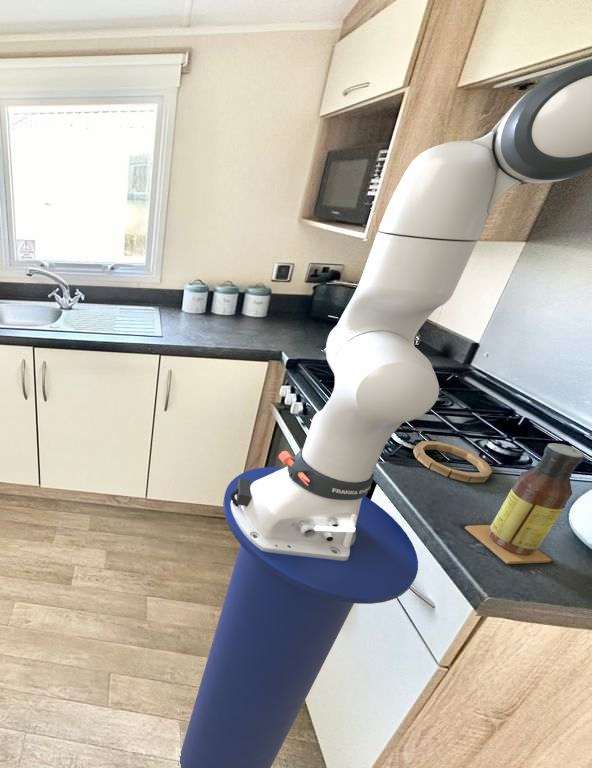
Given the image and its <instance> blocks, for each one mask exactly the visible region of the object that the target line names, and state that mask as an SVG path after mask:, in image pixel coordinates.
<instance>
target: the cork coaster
mask: <svg viewBox="0 0 592 768" xmlns="http://www.w3.org/2000/svg"><path fill="white" fill-rule="evenodd" d="M490 526H491V524H485V525H484V524H483V525H482V524H481V525H479V524H478V525H465V526H464V529H465V531H467V532H468V533H470V534H471V535H472V536H473V537H474V538H476V539H477V540H478V541H479V542H480V543H481V544H483V545H484V546H485V547H486V548H487V549H489V550H490V551H491V552H492V553H494V554H495V556H496V557H498V558H499V559H501V561H503V562H504V563H505V564H506V565H516V564H517V565H518V564H540V563H542V564H543V563H551V562H552V559H551V558H550V557H549V556H547V554H545V553H543V552H542V551H541V550H539V548H537V549H536V551H535V552H534V553H533V554H531V555H520V554H516V553H513V552H511V551H508V550H506V549H504V548H503V547H501V546H500V545H498V544H497V543H495V542H494V541H493V540H492V539H491V538H490V535H489V529H490Z"/></svg>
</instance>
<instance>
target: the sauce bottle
mask: <svg viewBox="0 0 592 768" xmlns="http://www.w3.org/2000/svg"><path fill="white" fill-rule="evenodd" d="M584 458H585V454H584V452H582V451H581V450H579V449H576V448H574V447H572V446H570V445H566V444H563V443H557V442H555V443H553V442H552V443H551V442H550V443H548V444H546V446H545V448H544V450H543V455H542V456H541V458H540V460H539V462H538V463H537V464H536V465H535V466H534V467H532V468H530V469H527V470H525V471H522V472H521V473H520V474H519V475H518V478H517V480H516V481H515V483H514V485H513V486H512V487H511V489H510V491H509V493H508V494H507V495H506V498H505V500H504V501H503V503H502V505H501V507H500V508H499V511H498V512H497V514H496V515H495V517H494V519H493V520H492V523H490V525H491V526H490V529H489V535H490V538H491V539H492V540H493V541H494V542H495V543H497V544H498V545H500V546H501V547H503V548H504V549H506V550H508V551H511V552H513V553H516V554H520V555H531V554H533V553H534V552H535V551H536V549H539V548H540V547H541V546H542V543H543V542H544V541H545V539H546V537H547V536H548V534H549V533H550V531H551V529H552V528H553V526H554V525H555V523H556V522H557V520H558V519H559V517H560V516H561V514H562V512H563V511H564V510H565V507H566V504H567V502H568V501H569V500H570V498H571V496H572V495H573V490H572V483H571V478H572V475H573V473H574V471H575V470H576V468H577V467H578V465H579V464H581V463H582V462H583V461H584Z"/></svg>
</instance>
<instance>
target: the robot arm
mask: <svg viewBox="0 0 592 768" xmlns="http://www.w3.org/2000/svg"><path fill="white" fill-rule="evenodd" d="M589 173H592V58H589V59H586V60H582V61H579V62H576V63H573V64H571V65H568V66H567V67H563V68H562V69H560V70H558V71H555V72H554V73H553V74H551V75H549V76H548V77H545V79H543V80H542V81H541V82H538V84H536V85H534V87H533V88H531V89H530V90H529V91H527V92H526V93H524V94H523V95H522V96H521V97H520V98H519V99H518V100H517V101H516V102H515V103H514V104H513V105H512V106H511V107H510V108H509V109H508V111H507V112H506V113H505V114H504V115H503V116H502V117H501V118H500V120H499V121H498V122H497V123H496V124H495V125H494V126H493V127H492V128H491V129H490V130H489V131H488V132H487V133H486V134H484V135H483V136H481V137H479V138H475V139H470V140H453V141H448V142H444V143H441V144H437V145H435V146H433V147H430V148H428V149H426V150H424V151H423V152H421V153H419V154H418V155H417V156H416V157H415V158H414V159H413V160H412V161H411V163H409V165H408V166H407V169H406V170H405V172H404V174H403V176H402V177H401V179H400V181H399V183H398V185H397V187H396V189H395V191H394V192H393V194H392V197H391V198H390V200H389V202H388V205H387V207H386V210H385V212H384V214H383V216H382V219H381V222H380V224H379V227H378V229H377V232H376V235H375V238H374V241H373V243H372V247H371V250H370V252H369V254H368V257H367V261H366V263H365V267H364V268H363V272H362V274H361V278H360V280H359V282H358V284H357V287H356V289H355V291H354V293H353V295H352V297H351V299H350V300H349V302H348V304H347V305H346V307H345V309H344V311H343V313H342V314H341V317H340V318H339V320H338V322H337V324H336V325H335V326H334V327H333V328H332V329H331V331H330V332H329V334H328V336H327V339H326V345H325V358H326V361H327V363H328V366H329V368H330V369H331V371H332V374H333V376H334V384H333V385H334V386H333V390H332V393H331V395H330V397H329V398H328V399H327V402H326V403H325V405H324V406H323V408H321V410H319V411H317V412H316V413H314V415H313V418H312V420H311V424H310V427H309V428H308V433H307V435H306V438H305V442H304V445H303V447H301V449H299V451H298V452H297V453H296V454H295V455H294V456H291V454H290V453H289V451H287V450H283V451H281V452H280V453H279V454H278V459H279V460H280V461H281V462H282V464H283V465H284V466H285V468H283V469H281V470H278V471H276V472H274V473H272V474H270V475H268V476H265V477H263V478H261V479H259V480H256V481H254V482H253V483H252V484H251V486H250V480H247V479H243V478H239V480H238V484H237V489H235V490H234V491H233V492H232V493H231V511H232V514H233V516H234V519H235V521H236V523H237V524H238V526H239V528H240V529H241V531H242V532H243V534H244V535H245V536H246V537H247V539H248V540H249V541H250V542H251V543H252V544H254V545H255V546H256V547H257V548H259V549H260V550H262V551H264V552H270V553H278V554H287V555H295V556H304V557H312V558H321V559H330V560H338V561H347V560H348V559H349V555H350V547H351V546H352V545H353V543H354V542H355V539H356V523H357V519H358V514H359V510H360V505H361V501H362V498H363V497H364V496H366V497H367V495H368V493H369V490H371V488H372V486H371V485H372V483H373V481H374V478H375V475H374V471H375V469H376V467H377V464H378V462H379V460H380V457H381V455H382V453H383V451H384V449H385V447H386V445H387V443H388V442H389V440H390V438H391V437H392V436H393V435H394V434H395V432H396V431H397V430H398V429H399V427H401V426H402V424H403V423H404V424H405V423H409V422H411V421H414V420H416V419H418V418H421V417H422V416H424V415H425V414H426V413H428V412H429V411H430V410H431V409H432V408H433V406H434V405H436V402H437V400H438V398H439V394H440V385H439V381H438V378H437V375H436V372H435V370H434V367H433V365H432V363H431V361H430V360H429V358H428V357H427V356H426V355H425V354H424V353H422V352H421V351H420V350H419V349H418V348H417V347H416V346H415V345H414V344H415V343H414V342H415V338H416V336H417V334H418V332H419V330H420V329H421V328H422V326H423V325H424V324H425V322H426V321H427V320H428V319H429V318H430V316H431V315H432V314H433V313H434V312H435V311H436V310H437V309H438V308H440V307H442V306H443V305H445V304H446V303H448V301H450V300H451V298H452V297H453V296H454V293H455V291H456V289H457V286H458V284H459V283H460V281H461V278H462V276H463V273H464V271H465V270H466V267H467V265H468V263H469V261H470V258H471V256H472V253H473V251H474V250H475V248H476V245H477V243H478V240H479V238H480V236H481V234H482V232H483V229H484V227H485V225H486V223H487V220H488V218H489V216H490V214H491V213H492V212H493V210H494V208H495V207H496V205H497V203H498V202H500V200H502V198H503V197H504V196H505V195H506V194H507V193H508V192H509V191H511V190H512V189H514V188H516V187H517V186H520V185H521V186H522V185H526V184H550V183H555V182H560V181H565V180H569V179H572V178H575V177H580V176H583V175H586V174H589ZM236 494H237V495H236Z"/></svg>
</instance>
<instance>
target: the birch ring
mask: <svg viewBox="0 0 592 768" xmlns="http://www.w3.org/2000/svg"><path fill="white" fill-rule="evenodd" d="M425 450H427V451H429V450H430V451H431V450H437V451H441V452H445V453H449V454H452V455H454V456H457V457H459V458H462V459H464V460H465V461H467V462H469V463H470V464H472V465H473V466H474V467H476V468H477V470H478V472H466V471H462V470H458V469H454V468H451V467H449V466H446V465H444V464H442V463H439V462H437V461H436V460H434V459H433V458H431V457H430V456H429V455H427V454H426V453H425ZM412 451H413V452H412V453H413V455H414V457H415V459H416V460H417V461H418V462H420V463H421V464H423V465H424V467H426V468H427V469H430V470H431V471H433V472H435V473H438V474H440V475H442V476H444V477H446V478H448V477H449V479H453V480H457V481H461V482H466V483H471V484H472V483H484V482H486V481H487V480H488V479H489V478H490V476H491V475H492V473H493V469H492V468H491V466H490V464H489V463H488V462H487V461H486V460H485V459H483V458H482V457H480V456H479V455H477V454H475V453H473V452H471V451H470V450H467V449H465V448H462V447H460V446H458V445H453V444H451V443H446V442H442V441H438V440H436V441H435V440H421V441H420V442H418V443H417V444H415V445H414V447H413V450H412Z"/></svg>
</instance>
